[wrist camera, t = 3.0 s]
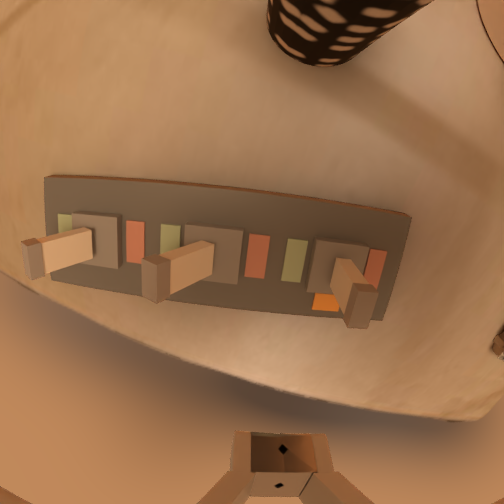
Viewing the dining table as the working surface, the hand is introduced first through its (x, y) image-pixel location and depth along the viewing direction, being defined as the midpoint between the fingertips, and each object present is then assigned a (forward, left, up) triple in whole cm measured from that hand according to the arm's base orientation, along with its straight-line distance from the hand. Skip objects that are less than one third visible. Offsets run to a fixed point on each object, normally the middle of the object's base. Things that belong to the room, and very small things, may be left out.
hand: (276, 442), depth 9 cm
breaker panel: (+4, 0, -19) cm, 19 cm away
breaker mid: (+4, 0, -16) cm, 17 cm away
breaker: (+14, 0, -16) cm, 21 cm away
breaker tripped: (-6, 0, -16) cm, 17 cm away
